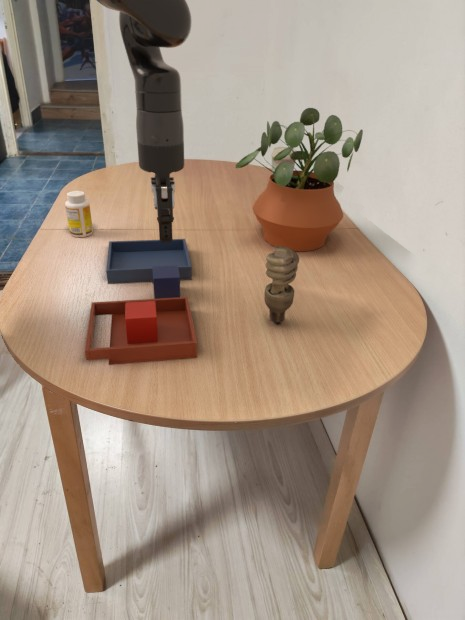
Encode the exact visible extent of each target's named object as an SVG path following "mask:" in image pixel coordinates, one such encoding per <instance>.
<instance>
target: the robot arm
mask: <svg viewBox="0 0 465 620" xmlns="http://www.w3.org/2000/svg"><path fill="white" fill-rule="evenodd" d="M96 1H97V2H98V3H99V4H100V5H102V6H103V7H105V8H106V9H109V10H112V11H115V12H119V14H118V22H119V23H118V24H119V30H120V35H121V38H122V43H123V45H124V49H125V54H126V57H127V60H128V63H129V67H130V69H131V72H132V75H133V79H134V90H135V91H134V93H135V104H136V116H135V117H136V119H135V129H136V130H135V131H136V141H137V144H136V145H137V156H138V157H137V158H138V166H139V168H140V170H142V171H143V172H147V173H153V174H154V176H153V177H152V176H151V177H150V189H151V193H152V197H153V208H154V209H155V210H156V212H157V213H156V214H157V215H156V216H157V217H156V221H157V223H158V236H159V240H160V242H162V243H163V242H172V240H173V239H174V238H173V223H174V220H175V217H174V209H175V192H176V183H175V182H176V181H175V178H174V176H171V174H172V173H177V172H181V171H182V170H183V169H184V168H185V134H184V133H185V129H184V128H185V127H184V118H183V110H182V107H183V106H182V79H181V74H180V72H179V71H178V70H177V68H175V67H173V66H172V65H169V64H168V63H166V62H165V60H164V57H163V54H162V50H161V48H163V49H164V48H165V49H173V48H177V47H179V46H182V45H183V44H184V43H185V42H186V41H187V39H188V38H189V36H190V34H191V31H192V25H193V24H192V21H193V19H192V13H191V10H190V7H189V4H188V2H187V0H96Z"/></svg>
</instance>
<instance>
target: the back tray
mask: <svg viewBox="0 0 465 620" xmlns="http://www.w3.org/2000/svg"><path fill="white" fill-rule="evenodd" d="M172 239H173V240H172V242H163V243H162V242H160V239H143V240H142V239H141V240H139V239H138V240H109V241H108V250H107V260H106V270H105V272H106V281H107V285H108V284H126V283H128V284H129V283H145V282H146V283H147V282H153V271H152V267H154V266H176V265H178V270H179V275H180V281H185V280H188V281H189V280H192V279H193V265H192V262H191V258H190V253H189V249H188V245H187V241H186V238H172Z"/></svg>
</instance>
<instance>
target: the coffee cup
mask: <svg viewBox="0 0 465 620" xmlns="http://www.w3.org/2000/svg"><path fill="white" fill-rule="evenodd" d="M286 148H288V146H277V147H273V149H272V151H271V152H270V156H271V170H272V171H273V172H274V171H275V169H276V167H277V166H278V165H279V164H280V163H282V162H290V163H291V164H292V165H293V167H294V168H295V166H296V163H295V162H297V160H295V162H294V161H293V159H291V158H290V155H291V154H292V153H293V152H292V151H291V152H290V153H289V154H290V155H289V154H288V155H287V156H286V157H285V158H283V159H281V160H277V161H274V160H273V159H274V157H275V156H276V155H277V154H278V153H279V152H281V151H282V150H284V149H286ZM293 151H294V152H295V151H297V149H295V148H293ZM272 166H273V167H274V168H275V169H274V168H273V167H272ZM294 168H293V170H295V169H294ZM272 174H274V173H272V172H271V175H272Z"/></svg>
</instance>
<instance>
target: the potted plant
mask: <svg viewBox="0 0 465 620" xmlns="http://www.w3.org/2000/svg"><path fill="white" fill-rule="evenodd" d="M320 117H321V116H320V112H319V110H318V109H317V108H315V107H308V108H305V109H303V111H301V114H300V118H299V121H294V122H292V123H290V124H289V125H288V126H286V125H283V124H281V123H280V122H279V120H274V121H273V122H272V123H271V125H270V122H269V121H268V120H267V121H266V131H263V132H262V133H261V139H260V147H258V148H257V149H255V150H254V151H252V152H250V153H248V154H247V155H245V156H243V157H242V158H241V159H240V160H239V161H238V162H237V163H236V164H235V169H241V168H244V167H247V166H248V165H250V164H251V163H252V162H253V161H254V160H255V161H256V162H257V163H259V164H260V165H261V166H263V167H264V168H265V169H267V170H268V171H269V172H271V174H270V175H269V177H268V183H267V184H266V185H267V186H266V188H265V189H264V190H263V191H262V192H261V193H260V194H259V195H258V197H257V198H256V200H255V201H254V203H253V205H252V211H253V213H254V216H255V218H256V220H257V222H258V223H259V225H260V226H261V227H262V230H263V231H262V232H263V239H264V241H265V242H266V243H267V244H269V245H271V246H273V247H274V248H275V247H278V246H282V247H287V248H290V249H292V250H294V251H295V252H311V251H315V250H318V249H320V248H322V247H323V246H324V245H325V243H326V239H327V237H328V235H329V234H330V233H331V232H332V231H334V230H335V229H336V228H337V227H338V225H339V224H340V223H341V221H342V220H343V218H344V212H343V209H342V207H341V204H340V202H339V200H338V198H337V197H336V195H335V190H334V189H335V182H334V181H335V180H336V179H337V178H338V176H339V172H340V166H341V165H340V164H341V162H340V157H339V153H336V152H335V151H331V150H327V149H329V148H330V147H331V146H334V145H335V144H337V143H338V142H340V141H342V139H341V138H342V136H343V133H344V132H345V130H343V124H342V121H341V118H339V116H337V115H335V114H331V115H329V116H328V117H327V119H326V120H325V123H324V127H323V130H322V131H319V132H316V133H315V124H316V123H318V122H319V121H320ZM305 126H307V127H309V126H312V133H311V132H308V131H307V129H306V127H305ZM282 127H283V128H284V129H285V131H284V136H283V128H282ZM349 131H350V132H352V130H350V129H347V130H346V132H349ZM354 133H355V134H356V136H355V138H353V137H352V136H349V137H347V138H346V139H344V143H343V144H342V147H341V156H342V158H344V159H348V158H349V160H348V163H347V167H346V170H347V172H349V170H350V167H351V162H352V160H353V156H354V152H355V153H358V152H359V149H360V146H361V143H362V139H363V133H364V131H363V129H360V130H359V131H358V133H357V132H356V131H354ZM282 136H283V138H284V141H285V142H284V141H283V140H282V139H281V138H282ZM305 136H306V137H307V138H308V141H309V151H308V149H307V147H306V145H305V144H304V143H303V140H304V137H305ZM279 141H281V142H282V143H284V144H285V145H286V147H288V148H286V149H284V150H282V151H281V152H279V153H278V154H277V155H276V156H275V157H274V159H273V160H274V161H277V160H281V159H283V158H285V157H286V156H287V155H288V154H289V153H290V152H291V151H292V152H293V153H292V154H291V155H290V154H289V155H290V158H291V159H293V161H294V162H295V166H297V167H298V168H299V169H300V170H299V169H298V170H297V169H296V168H295V166H294V167H293V165H292V164H291V163H290V162H282V163H280V164H279V165H278V166H277V167H276V169H275V168H274V167H273V166H272V165H271V168H272V167H273V168H274V169H275V171H274V172H273V171H272V169H270V168H269V167H267V166H266V165H265V164H263V163H261V162H260V161H259V160H257V159H256V157H257V156H258V155H259V153H260V154H261V156H262V157H263V159H264V160H265V162H266V163H267V164H268V165H270V163H269V162H268V161H267V160H266V158H265V157H264V156H266V153H267V152H268V150H269V148H271V146H272V145H276V144H277V143H279ZM319 141H323V142H321V143H320V144H319V145H318V142H319ZM324 144H328V145H329V146H327V147H326V148H325V149H323V150H322V151H321V152H320V153H318V154H317V152H318V151H319V150H320V149H321V147H322V146H323V145H324ZM317 145H318V146H317ZM298 147H299V149H300V150H296V151H295V152H294V151H293V149H295V148H298ZM326 150H327V151H326ZM353 151H354V152H353ZM316 154H317V155H316ZM315 155H316V156H315ZM314 156H315V157H314ZM295 160H296V161H295ZM297 162H298V163H297ZM303 163H304V164H303ZM293 168H294V170H293ZM272 173H274V174H272Z"/></svg>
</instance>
